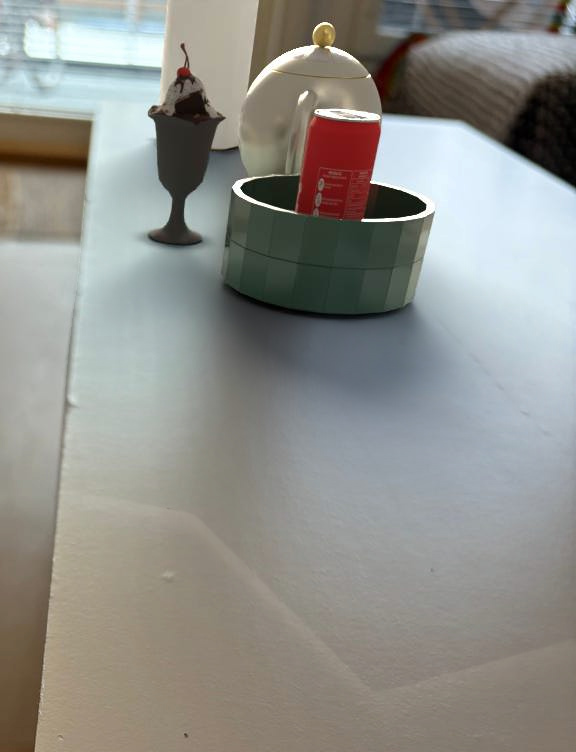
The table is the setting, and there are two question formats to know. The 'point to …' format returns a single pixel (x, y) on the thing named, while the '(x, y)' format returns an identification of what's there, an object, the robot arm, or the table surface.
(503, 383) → the table surface
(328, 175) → the beverage can
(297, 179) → the green planter pot
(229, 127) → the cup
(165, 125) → the sundae
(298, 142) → the teapot
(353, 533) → the table surface
